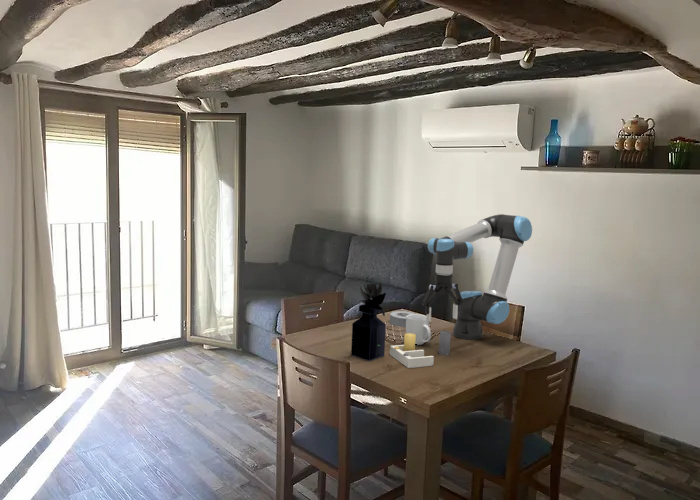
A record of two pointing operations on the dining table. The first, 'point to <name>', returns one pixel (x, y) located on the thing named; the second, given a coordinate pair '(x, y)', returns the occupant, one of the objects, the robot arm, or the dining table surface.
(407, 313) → the grey wheel
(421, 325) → the mug
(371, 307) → the vase
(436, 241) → the robot arm
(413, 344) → the ochre plug
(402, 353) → the comb rack
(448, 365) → the dining table surface
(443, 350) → the charcoal plug
